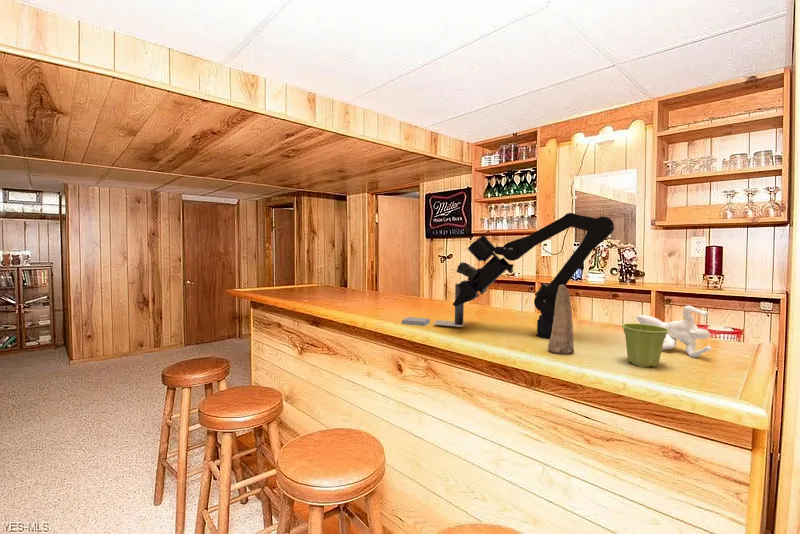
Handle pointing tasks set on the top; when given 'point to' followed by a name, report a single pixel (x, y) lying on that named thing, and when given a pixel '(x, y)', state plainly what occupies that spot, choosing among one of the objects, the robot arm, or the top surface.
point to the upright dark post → (458, 313)
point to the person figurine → (681, 331)
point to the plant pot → (644, 343)
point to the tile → (416, 321)
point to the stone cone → (562, 324)
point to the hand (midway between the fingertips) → (455, 304)
